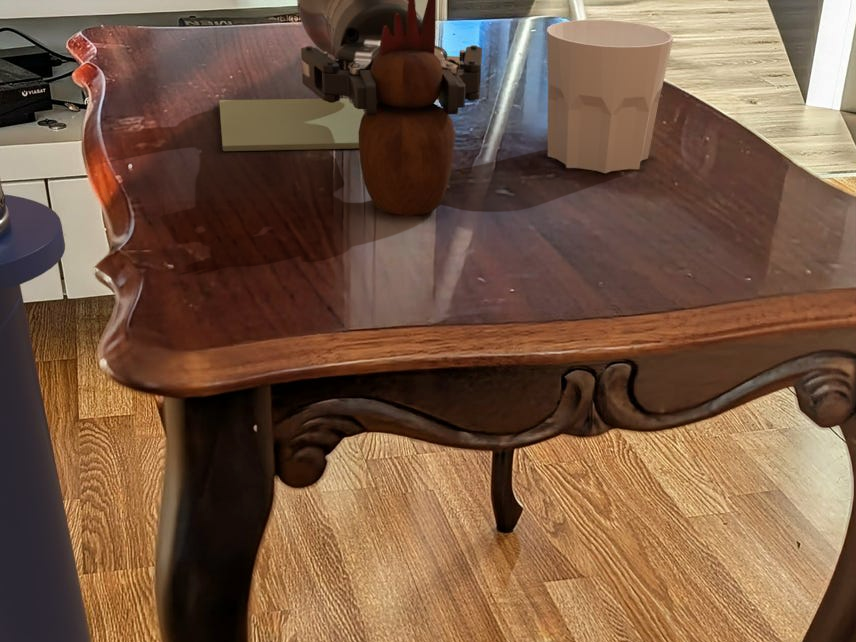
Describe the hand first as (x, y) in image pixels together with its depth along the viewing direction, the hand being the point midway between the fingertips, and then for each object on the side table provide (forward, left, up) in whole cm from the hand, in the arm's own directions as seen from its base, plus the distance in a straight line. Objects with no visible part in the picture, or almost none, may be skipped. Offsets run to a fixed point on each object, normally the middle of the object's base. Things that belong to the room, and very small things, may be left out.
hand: (412, 99), depth 78 cm
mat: (-6, +25, -9) cm, 27 cm away
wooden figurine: (0, +3, -9) cm, 9 cm away
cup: (+18, +14, -9) cm, 24 cm away
